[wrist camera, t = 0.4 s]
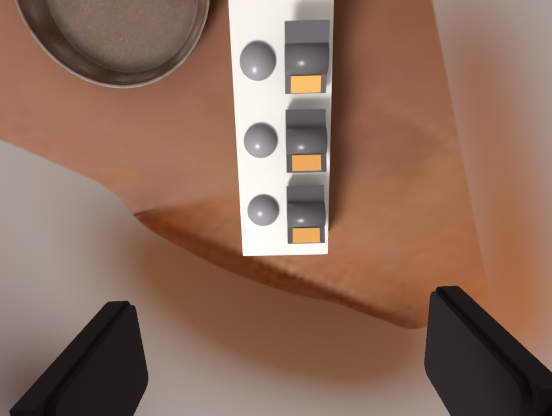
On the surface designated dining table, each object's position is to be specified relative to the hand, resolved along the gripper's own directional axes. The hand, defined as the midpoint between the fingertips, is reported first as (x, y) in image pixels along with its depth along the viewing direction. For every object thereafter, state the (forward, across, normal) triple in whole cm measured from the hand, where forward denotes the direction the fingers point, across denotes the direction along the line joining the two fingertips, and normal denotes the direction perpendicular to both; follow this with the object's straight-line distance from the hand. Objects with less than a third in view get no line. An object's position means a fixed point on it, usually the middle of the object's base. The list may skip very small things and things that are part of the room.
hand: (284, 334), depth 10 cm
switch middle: (+23, -3, -4) cm, 23 cm away
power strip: (+27, -1, -8) cm, 28 cm away
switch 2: (+23, -3, +3) cm, 23 cm away
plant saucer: (+27, +14, -19) cm, 36 cm away
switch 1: (+23, -3, -12) cm, 26 cm away
